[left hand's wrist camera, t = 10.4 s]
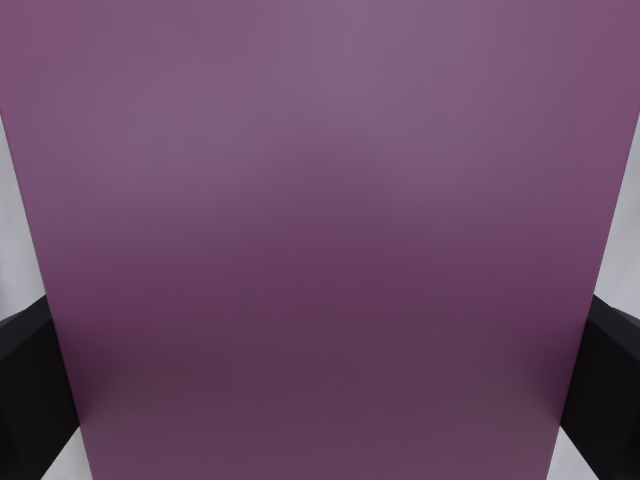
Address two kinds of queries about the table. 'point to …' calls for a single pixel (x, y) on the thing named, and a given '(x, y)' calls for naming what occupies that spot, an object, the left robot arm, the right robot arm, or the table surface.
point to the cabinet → (319, 225)
